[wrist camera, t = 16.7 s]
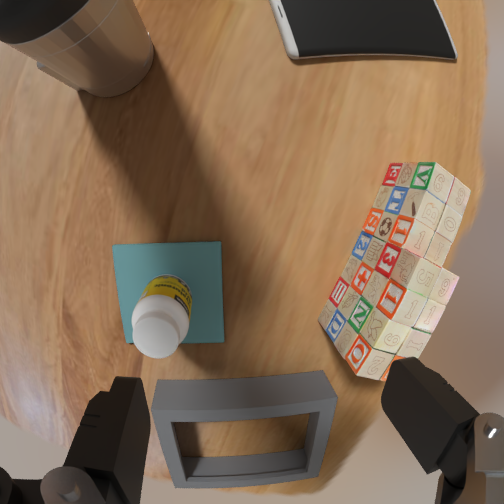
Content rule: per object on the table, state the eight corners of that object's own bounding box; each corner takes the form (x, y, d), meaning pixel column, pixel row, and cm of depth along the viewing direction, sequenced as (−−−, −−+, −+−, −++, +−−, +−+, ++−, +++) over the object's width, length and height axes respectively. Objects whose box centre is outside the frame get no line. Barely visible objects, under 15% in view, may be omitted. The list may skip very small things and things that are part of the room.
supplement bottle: (201, 289, 34) (199, 333, 24) (176, 325, 34) (167, 376, 25) (160, 263, 32) (142, 297, 23) (136, 301, 33) (113, 345, 24)
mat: (127, 340, 35) (126, 342, 34) (113, 244, 32) (112, 245, 31) (224, 339, 36) (224, 342, 36) (220, 241, 33) (221, 242, 33)
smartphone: (453, 61, 31) (460, 59, 30) (287, 62, 30) (291, 57, 28) (424, -10, 28) (430, -14, 26) (258, -23, 26) (260, -30, 25)
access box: (176, 460, 41) (175, 487, 35) (157, 379, 37) (150, 409, 31) (308, 451, 43) (318, 476, 38) (322, 370, 39) (337, 396, 33)
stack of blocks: (388, 161, 33) (457, 160, 22) (423, 184, 35) (492, 193, 23) (316, 320, 37) (355, 377, 25) (355, 332, 38) (400, 386, 27)
